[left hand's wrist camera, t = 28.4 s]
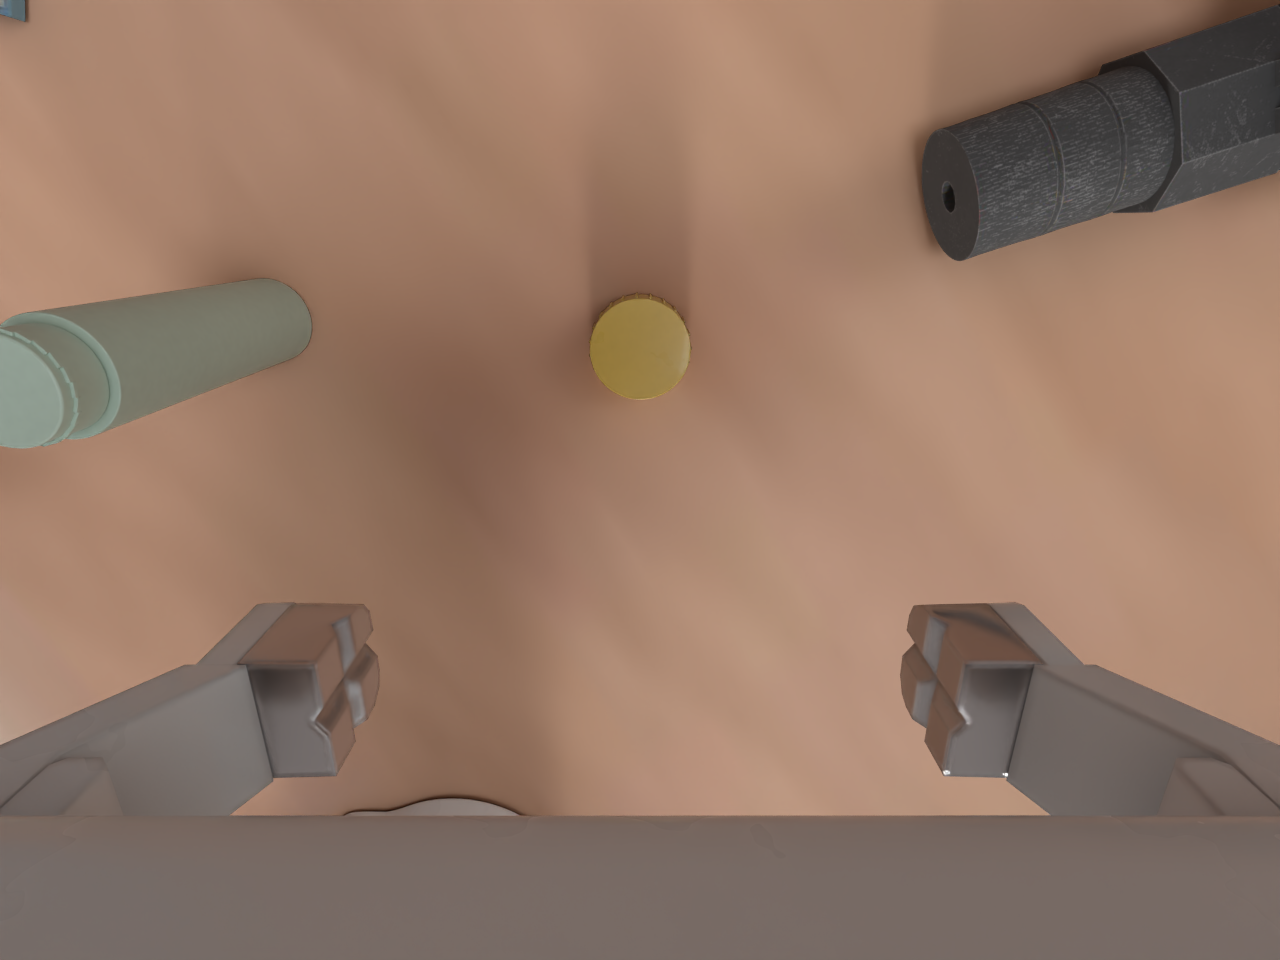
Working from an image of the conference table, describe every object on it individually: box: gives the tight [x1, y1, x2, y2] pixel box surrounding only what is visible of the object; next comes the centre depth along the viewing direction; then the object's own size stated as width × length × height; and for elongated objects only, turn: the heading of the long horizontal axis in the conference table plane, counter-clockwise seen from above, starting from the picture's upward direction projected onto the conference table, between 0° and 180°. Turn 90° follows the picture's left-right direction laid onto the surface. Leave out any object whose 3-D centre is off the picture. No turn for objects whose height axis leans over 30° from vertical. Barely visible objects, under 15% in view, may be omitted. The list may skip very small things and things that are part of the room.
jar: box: [0, 278, 312, 448], centre depth 28 cm, size 4×4×16 cm
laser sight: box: [922, 4, 1280, 261], centre depth 27 cm, size 10×22×10 cm, turn 108°
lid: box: [589, 293, 692, 400], centre depth 34 cm, size 5×5×2 cm
